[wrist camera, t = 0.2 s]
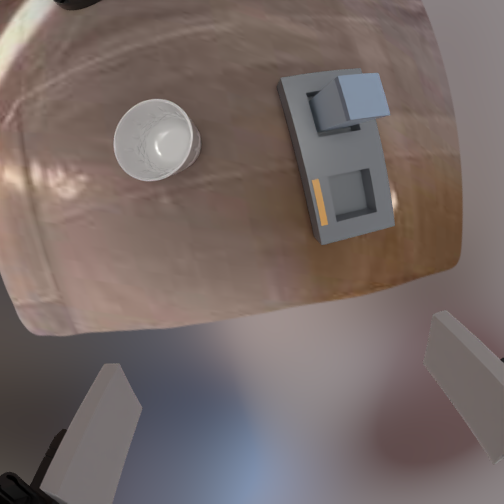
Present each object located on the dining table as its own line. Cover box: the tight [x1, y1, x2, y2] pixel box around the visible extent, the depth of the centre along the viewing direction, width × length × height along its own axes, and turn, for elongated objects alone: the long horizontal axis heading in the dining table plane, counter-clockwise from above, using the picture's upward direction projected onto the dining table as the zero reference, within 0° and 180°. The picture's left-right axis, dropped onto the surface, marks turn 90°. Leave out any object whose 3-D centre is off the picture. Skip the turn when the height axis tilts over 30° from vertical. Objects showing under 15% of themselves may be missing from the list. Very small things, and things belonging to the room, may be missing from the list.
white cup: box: [114, 99, 202, 181], centre depth 29 cm, size 8×8×10 cm
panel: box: [277, 68, 395, 245], centre depth 32 cm, size 20×10×4 cm, turn 15°
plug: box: [309, 73, 390, 133], centre depth 26 cm, size 4×4×12 cm
